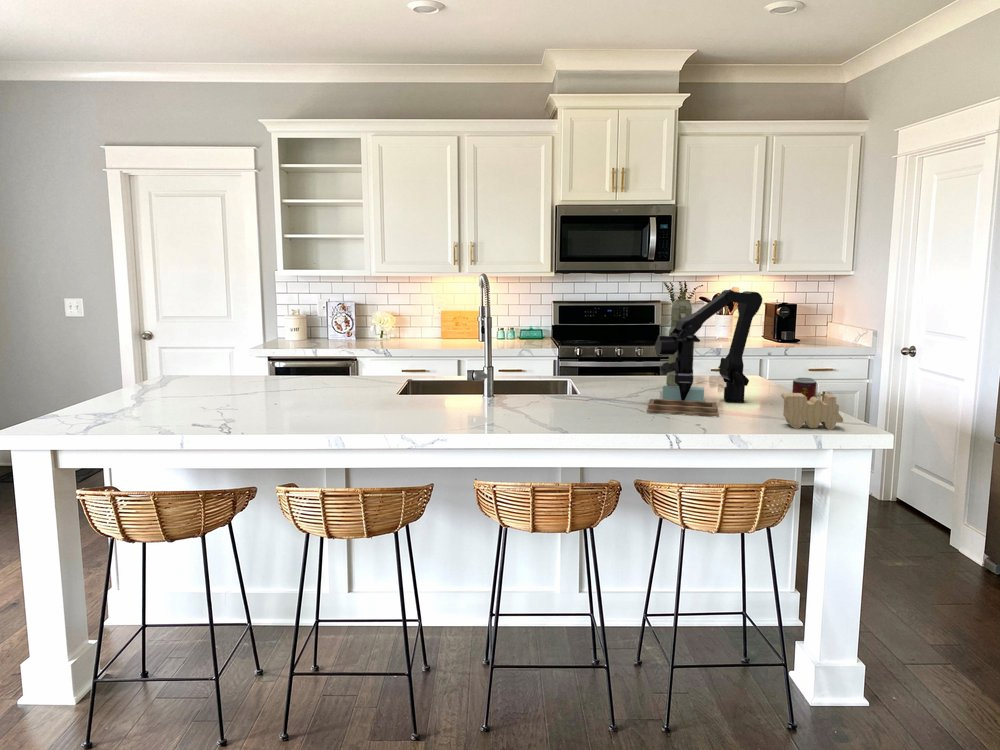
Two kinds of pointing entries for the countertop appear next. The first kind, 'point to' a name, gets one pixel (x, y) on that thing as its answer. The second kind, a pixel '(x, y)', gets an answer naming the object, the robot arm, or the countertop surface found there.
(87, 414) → the countertop surface
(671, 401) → the tray
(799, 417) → the toy train
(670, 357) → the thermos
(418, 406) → the countertop surface
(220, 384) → the countertop surface
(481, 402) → the countertop surface
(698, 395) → the pale blue block
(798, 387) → the soda can
